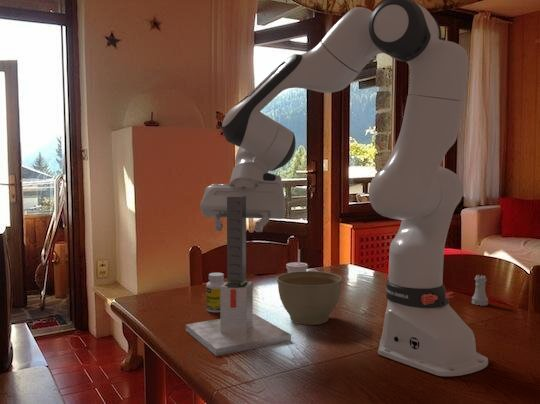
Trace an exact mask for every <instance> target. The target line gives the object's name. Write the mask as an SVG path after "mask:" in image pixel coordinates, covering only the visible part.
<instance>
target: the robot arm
mask: <svg viewBox="0 0 540 404" xmlns="http://www.w3.org/2000/svg"><path fill="white" fill-rule="evenodd" d="M380 54H385V55H387V56H389V57H391V58H392V59H395V60H397V61H400V62H404V63H407V64H408V66H409V69H410V81H409V86H408V90H407V91H408V93H407V94H408V95H407V97H406V103H405V108H404V112H403V113H404V114H403V118H402V123H401V128H400V132H399V134H398V138H397V140H396V142H395V144H394V147H393V149H392V151H391V153H390V155H389V157H388V159H387V160H386V163H384V165H383V167H382V168H381V169H380V170H379V171H378V172H377V174H376V175H374V176H373V178H372V179H371V181H370V184H369V186H368V199H369V202H370V205H371V207H372V209H373V210H374V211H375V212H376V213H377V214H379V215H380V216H382V217H385V218H388V219H393V220H397V221H398V220H399V221H401V222H400V226H399V229H398V230H397V233H396V235H395V236H394V238H393V239H392V241H391V243H390V245H389V248H388V249H389V252H388V255H389V256H388V257H389V258H388V280H387V281H386V285H385V297H386V299H387V304H386V309H385V313H384V319H383V327H382V332H381V333H382V334H381V338H380V340H379V344H378V345H379V347H378V350H377V353H378V355H380V356H381V357H385V358H386V359H387V358H388V359H390V360H392V361H396V362H398V363H401V364H404V365H407V366H410V367H412V368H415V369H418V370H421V371H424V372H427V373H430V374H432V375H435V376H437V377H438V376H439V377H458V376H459V377H460V376H464V375H469V374H473V373H476V372H479V371H481V370H484V369H485V368H487V367H488V365H489V358H488V357H486V356H484V355H482V354H481V353H480V352H477V348H476V347H477V345H476V338H475V337H476V336H475V333H474V332H473V330H472V329H471V328H470V327H469V325H467V323H465V321H464V320H463V319H462V318H461V316H460V315H458V313H457V312H456V311H455V310H454V309H453V308H452V306H450V300H449V299H450V298H454V296H453V295H452V294H454V291H449V292H447V289H446V286H445V284H444V283H443V278H444V277H443V275H444V274H443V273H444V259H445V256H444V255H445V254H444V253H445V247H446V241H447V237H448V233H449V228H450V225H451V222H452V218H453V215H454V213H455V210H456V208H457V206H458V205H459V204H460V202H461V201H462V199H463V194H464V187H463V182H462V180H461V179H460V177H459V175H457V174H456V173H455V172H454V171H452V170H451V169H449V168H445V167H443V166H441V164H442V161H443V160H444V158H445V156H446V154H447V152H449V150H450V148H452V147H453V145H454V144H455V142H456V141H457V138H458V134H459V129H460V124H461V119H462V115H463V108H464V104H465V98H466V95H467V85H468V75H469V74H468V73H469V56H468V53H467V51H466V49H465V48H464V47H463V46H462V45H460V44H458V43H456V42H454V41H449V40H443V39H442V29H441V25H440V23H439V22H438V20H437V18H435V16H433V15H432V14H431V13H430V11H428V10H427V8H425V6H422V5H421V4H419V3H417V2H415V1H414V0H384V1H383V2H381V3H380V4H378V6H377V7H376V8H375V9H374V10H371V9H369V8H366V7H362V6H356V7H353V8H351V9H350V10H348V11H347V12H346V13H345V14H344V15H343V16H342V17H340V18H339V19H338V20H337V22H336V23H335V24H334V25H333V26H332V27H330V29H329V30H328V31H327V33H326V34H325V35H324V37H323V38H322V39H321V40H320V41H319V43H317V45H316V46H314V47H313V48H312V49H310V50H307V52H304V53H301V54H300V53H298V54H297V53H293V54H292V55H290V56H289V57H287V58H286V59H284V61H282V62H281V63H280V64H279V65H278V66H277V67H275V69H273V70H272V71H271V72H270V73H269V74H268V75H267V76H266V77H265V78H264V79H263V80H262V81H261V82H260V83H259V84H258V85H256V87H255V88H254V89H252V90H251V91H250V92H249V94H247V96H245V97H244V98H243V99H241V100H240V101H239V102H237V103H235V104H234V106H232V108H230V109H229V110H228V112H227V113H226V114H225V116H224V118H223V120H222V123H221V130H222V133H223V135H224V139H225V141H226V142H228V143H229V144H232V145H234V146H236V147H238V149H237V152H236V156H235V159H234V164H235V165H234V167H233V169H232V171H231V172H232V173H231V176H230V179H229V183H220V184H218V183H213V184H211V185H209V186H207V187H205V189H204V193H203V196H202V199H201V201H200V204H199V209H200V212H201V214H202V215H203V217H204V218H213V221H214V230H215V231H216V232H219V231H220V232H221V231H223V228H224V224H223V220H221V219H222V218H226V219H227V197H228V196H246V219H259V221H255V223H254V224H255V226H254V230H255V233H263V229H264V227H266V225H267V224H268V223H269V222H270V219H275V220H277V219H278V220H281V219H283V218H284V217H285V216H286V212H287V211H286V210H287V209H286V208H287V207H286V206H287V204H286V197H285V192H284V184H283V180H282V177H281V176H280V175H278V174H275V173H271V172H273V171H276V170H278V169H280V168H283V167H284V166H286V165H287V164H288V163H289V162H291V160H292V158H293V156H294V154H295V151H296V146H297V145H296V143H297V142H296V136H295V133H294V132H293V131H292V130H291V129H289V128H288V127H286V126H285V125H283V124H281V123H279V122H278V121H276V120H274V119H273V118H272V117H269V116H268V115H266V114H265V113H263V112H262V110H264V108H265V107H267V106H268V105H269V104H270V103H271V102H272V101H273V100H274V99H275V98H276V97H277V96H278V95H280V94H281V93H282V92H284V91H285V90H288V89H302V90H303V89H304V90H308V91H309V90H310V91H314V92H316V93H317V92H318V93H327V94H330V93H337V92H340V91H343V90H344V89H347V87H348V86H350V84H351V83H352V82H353V81H354V80H355V79H356V78H357V77H358V75H360V74H361V72H362V71H363V70H364V69H365V66H367V64H368V63H369V62H370V61H371V60H372V59H373V58H374V57H376V56H377V55H380Z"/></svg>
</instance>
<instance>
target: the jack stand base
mask: <svg viewBox="0 0 540 404" xmlns="http://www.w3.org/2000/svg"><path fill="white" fill-rule="evenodd" d="M224 282H225V283H224V284H223V285H222V286H221V287H220V312H219V313H220V314H219V315H220V318H218V319H217V318H216V319H211V320H205V321H198V322H192V323H186V324H185V331H186V332H187V333H188V334H189V335H190V336H192V337H193V338H194V339H195V340H196V341H198V342H199V343H200V344H201V345H202V346H204V347H205V348H206V349H207V350H208V351H210V352H211V353H212V354H213V355H214V356H215V357H218V356H219V357H220V356H222V355H228V354H234V353H239V352H245V351H249V350H254V349H259V348H262V347H263V348H264V347H268V346H275V345H278V344H284V343H291V342H292V334H291V333H289V332H287V331H286V330H284V329H282V328H280V327H279V326H277V325H275V324H273V323H271V322H270V321H267V320H266V319H264V318H263V317H260V316H259V315H258V314H255V313H253V307H254V305H253V303H254V302H253V295H254V294H253V293H254V291H253V288H254V287H253V286H254V285H253V281H247V282H246V286H245V287H239V283H228V286H227V280H226V281H224Z"/></svg>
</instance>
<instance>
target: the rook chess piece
mask: <svg viewBox="0 0 540 404" xmlns="http://www.w3.org/2000/svg"><path fill="white" fill-rule="evenodd" d="M486 277H487V276H486V275H483V274H481V275H480V274H476V275H475V277H474V280H475V284H474V285H475V288H474V289H475V290H474V294H473V295H472V297H471V304H473V305H474V304H475V305H474V306H478V305H480V306H479V307H486V306H488V305H489V302H488V301H489V298H488V295H487V293H486V282H487V278H486Z"/></svg>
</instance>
